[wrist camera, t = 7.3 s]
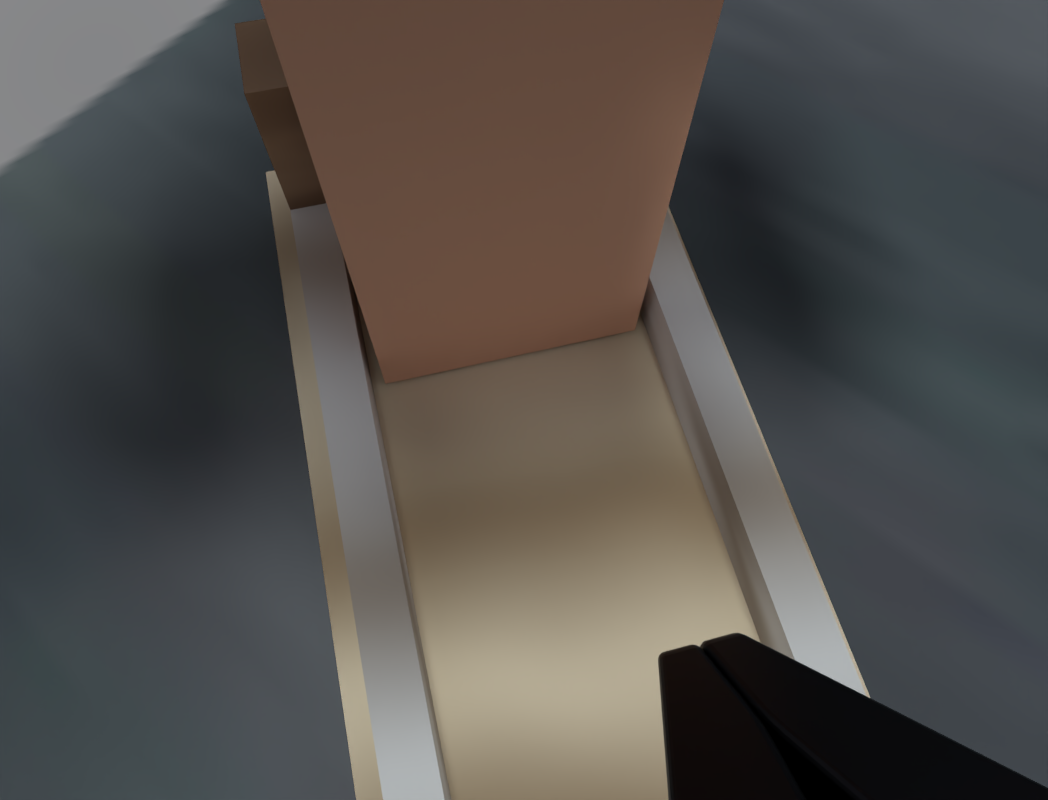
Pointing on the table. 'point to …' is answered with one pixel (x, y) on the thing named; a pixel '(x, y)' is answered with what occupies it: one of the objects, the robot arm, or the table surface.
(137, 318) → the table surface
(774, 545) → the rail
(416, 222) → the brown rectangular block
